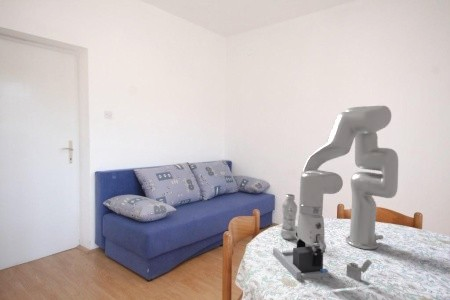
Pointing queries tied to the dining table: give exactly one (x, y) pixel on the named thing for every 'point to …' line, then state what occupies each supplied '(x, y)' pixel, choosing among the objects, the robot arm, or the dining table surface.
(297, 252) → the dark gray block
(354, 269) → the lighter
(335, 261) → the dining table surface
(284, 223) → the plastic bottle
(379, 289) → the dining table surface
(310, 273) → the grey tray
